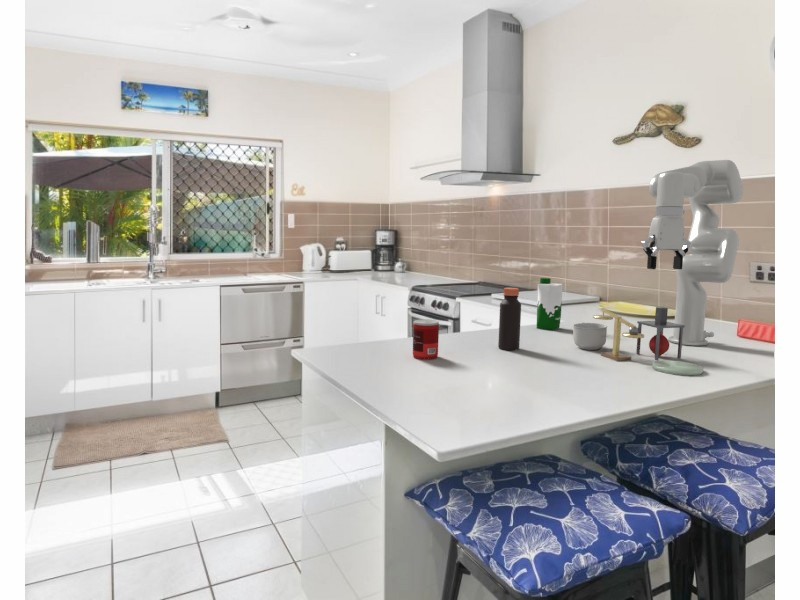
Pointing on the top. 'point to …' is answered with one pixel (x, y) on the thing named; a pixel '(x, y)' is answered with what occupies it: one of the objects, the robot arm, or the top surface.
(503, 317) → the bottle
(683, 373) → the dish
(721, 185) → the robot arm
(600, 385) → the top surface
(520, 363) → the top surface
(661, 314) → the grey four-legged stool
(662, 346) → the onion
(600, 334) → the teacup
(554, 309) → the milk carton
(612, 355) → the balance
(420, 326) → the canned food
